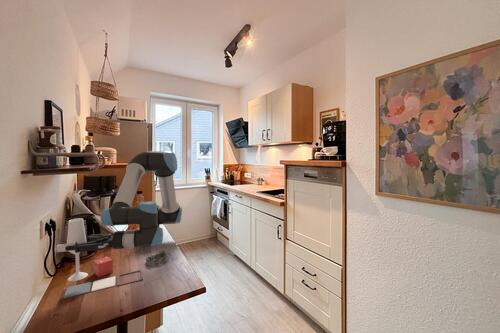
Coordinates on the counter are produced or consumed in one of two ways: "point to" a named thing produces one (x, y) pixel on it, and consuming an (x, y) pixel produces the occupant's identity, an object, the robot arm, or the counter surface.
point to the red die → (103, 266)
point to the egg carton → (157, 258)
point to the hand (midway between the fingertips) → (62, 244)
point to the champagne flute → (77, 235)
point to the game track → (96, 285)
